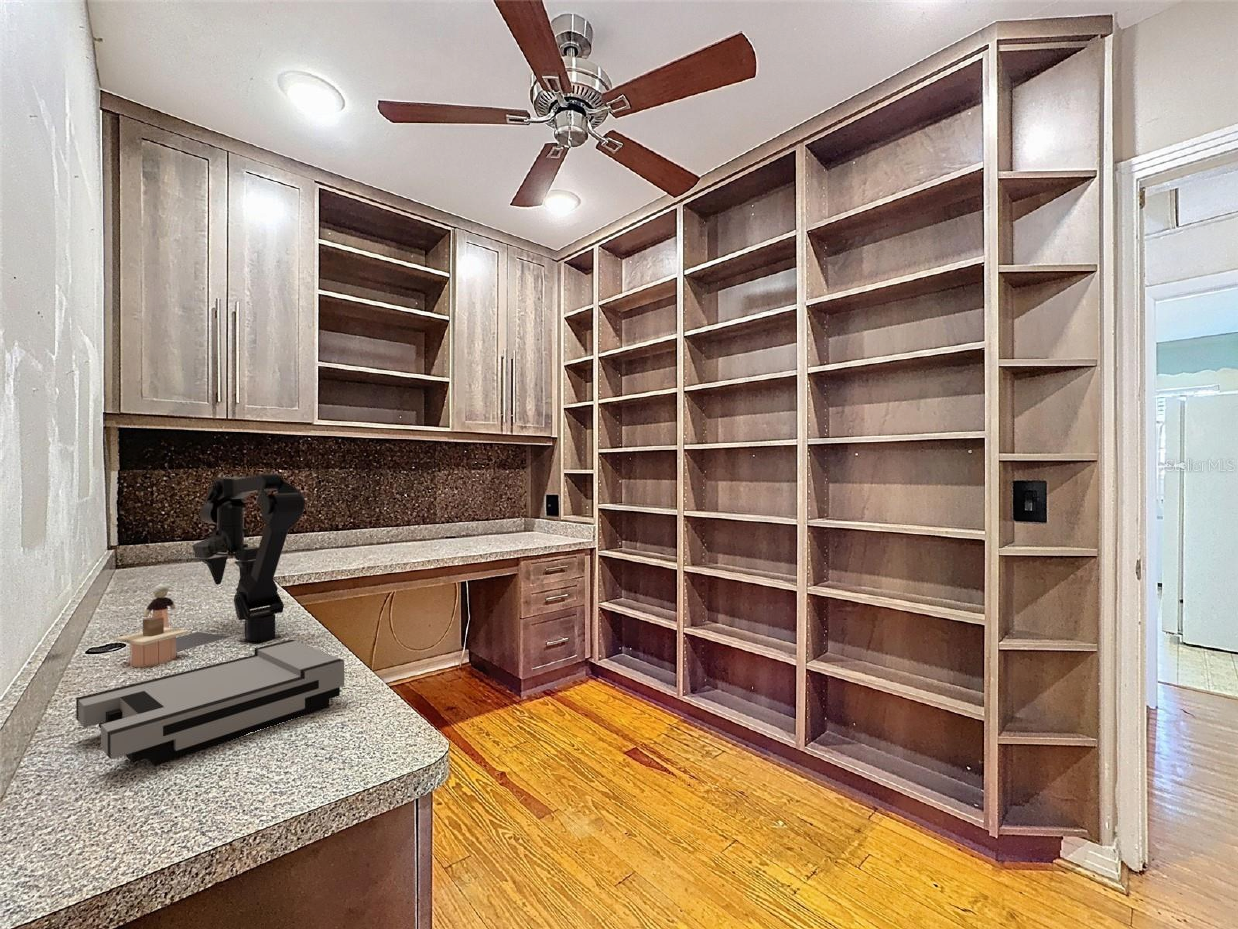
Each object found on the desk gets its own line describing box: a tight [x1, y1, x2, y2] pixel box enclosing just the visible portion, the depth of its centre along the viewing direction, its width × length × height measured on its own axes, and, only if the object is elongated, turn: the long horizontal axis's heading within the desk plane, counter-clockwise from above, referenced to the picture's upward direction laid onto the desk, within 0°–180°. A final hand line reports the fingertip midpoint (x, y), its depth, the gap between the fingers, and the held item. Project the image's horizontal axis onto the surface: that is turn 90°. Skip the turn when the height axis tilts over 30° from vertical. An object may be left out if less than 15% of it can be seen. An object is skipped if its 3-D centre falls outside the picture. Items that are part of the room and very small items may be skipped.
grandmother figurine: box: [143, 583, 176, 628], centre depth 147 cm, size 8×4×13 cm, turn 179°
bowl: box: [129, 637, 177, 668], centre depth 125 cm, size 8×8×6 cm
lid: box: [115, 616, 190, 645], centre depth 125 cm, size 9×9×4 cm
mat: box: [176, 631, 231, 652], centre depth 139 cm, size 12×12×1 cm
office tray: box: [75, 639, 345, 767], centre depth 96 cm, size 21×32×8 cm, turn 143°
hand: (230, 585), depth 148 cm, fingers open, 9 cm apart
